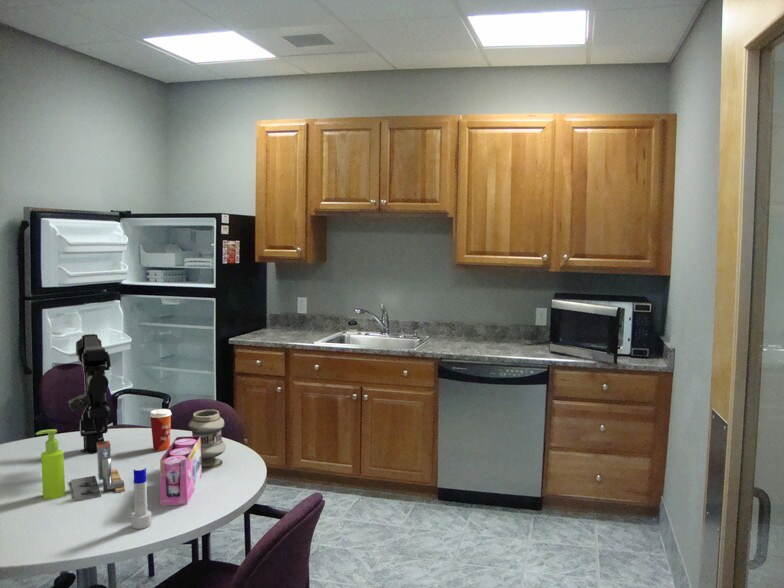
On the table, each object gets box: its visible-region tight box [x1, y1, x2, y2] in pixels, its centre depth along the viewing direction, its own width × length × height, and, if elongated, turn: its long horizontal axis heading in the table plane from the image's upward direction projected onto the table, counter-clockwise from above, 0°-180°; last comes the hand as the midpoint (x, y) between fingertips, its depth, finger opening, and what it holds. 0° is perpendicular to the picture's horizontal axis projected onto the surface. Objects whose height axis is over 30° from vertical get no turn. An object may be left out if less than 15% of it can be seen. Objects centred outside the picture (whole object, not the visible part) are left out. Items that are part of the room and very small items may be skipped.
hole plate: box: [70, 475, 102, 502], centre depth 200 cm, size 18×8×1 cm, turn 30°
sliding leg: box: [96, 440, 112, 481], centre depth 203 cm, size 4×4×13 cm
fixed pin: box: [102, 457, 125, 493], centre depth 198 cm, size 2×6×10 cm, turn 119°
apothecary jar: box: [187, 409, 227, 470], centre depth 221 cm, size 12×12×18 cm
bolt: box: [130, 466, 152, 530], centre depth 174 cm, size 16×5×5 cm
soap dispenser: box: [35, 428, 66, 500], centre depth 193 cm, size 6×7×20 cm
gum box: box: [159, 435, 203, 506], centre depth 197 cm, size 24×8×14 cm, turn 6°
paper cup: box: [148, 408, 172, 452], centre depth 237 cm, size 8×8×14 cm
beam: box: [111, 468, 126, 493], centre depth 206 cm, size 20×2×1 cm, turn 30°
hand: (98, 432), depth 218 cm, fingers closed
